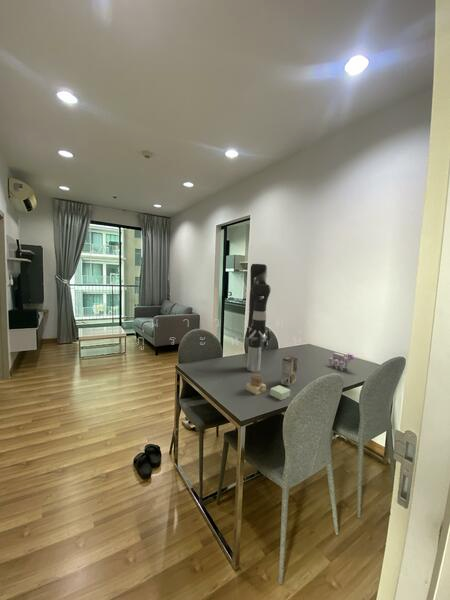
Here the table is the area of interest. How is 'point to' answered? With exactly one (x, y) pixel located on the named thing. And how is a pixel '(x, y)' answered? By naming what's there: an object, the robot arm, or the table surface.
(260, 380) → the walnut cube
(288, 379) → the coffee box
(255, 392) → the oak base block
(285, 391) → the sage base block
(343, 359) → the toy sheep
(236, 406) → the table surface
